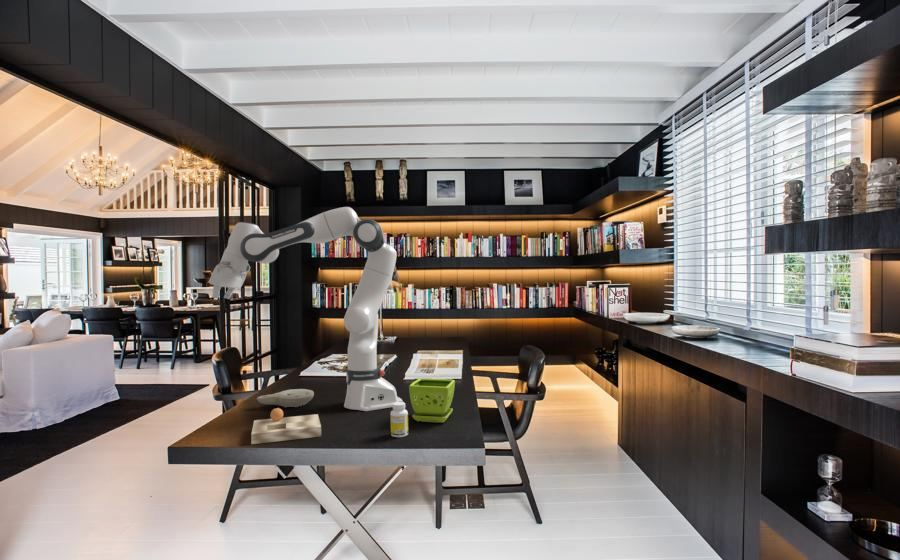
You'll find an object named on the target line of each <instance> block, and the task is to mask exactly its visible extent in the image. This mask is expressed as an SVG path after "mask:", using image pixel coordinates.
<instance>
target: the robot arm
mask: <svg viewBox="0 0 900 560" xmlns="http://www.w3.org/2000/svg"><path fill="white" fill-rule="evenodd" d="M346 236H349V237H352V238H353V239H354V241H355V243H356V244H357V245H358V247H360V248H363V249H364V250H365V251H367V260H366V262H365V265H364V268H363V270H362V273H361V277H360V278H359V282H358V285H357V288H356V290H355V291H354V294H353V295H352V297H351V299H350V303H349V305H348V307H347V309H346V312H345V315H344V317H343V325H344V327H345V329H346V330H347V331H348V332H349V339H348V345H347V369H346V372H345V373H346V375H345V377H346V378H345V379H346V384H347V386H346V387H347V388H346V395H345V400H344V404H343V407H344V408H346V409H349V410H354V411H355V410H356V411H357V410H358V411H364V412H369V411H375V410H382V409H387V408H389V409H390V408H393V407H392V406H393V403H395V402H404V401H403V399H402V397H401V398H400V397H399V396H398V395H397V389H396V387H395V386H394V385H393V384H392V383H390V382H389V381H388V380H386V379H385V378H383V377H384V376H385V375H386V373H385V371H384V369H380V368H379V367H378V363H377V359H378V358H377V353H378V351H377V350H378V349H377V346H378V336H379V335H378V334H379V311H380V308H381V305H382V303H383V301H384V299H385V297H386V294H387V291H388V289H389V286H390V283H391V281H392V277H393V275H394V271H395V267H396V263H397V255H398V253H397V251H396V249H395V248H394V246H392V245H390V244H387V243H386V242H385V239H384V231H383V228H382V226H381V225H380V223H379V222H377V221H376V220H374V219H373V218H365V219H360V217H359V216H358V214H357V212H356V211H355V210H354V209H353V208H352V207H350V206H343V207H338V208H334V209H330V210H327V211H323V212H321V213H318V214H316V215H314V216H312V217H309V218H307V219H305V220H302V221H300V222H299V223H296V224H293V225H290V226H288V227H284V228H281V229H278V230H275V231H272V232H267V233H264V232H263V231H262V230H261V229H260V227H259V225H257V224H255V223H252V222H247V221H238V222H236V224H235V225H234V227H233V229H232V231H231V233H230V236H229V237H228V241H227V247H226V248H225V249H224V251H223V254H222V257H221V259H220V262H219V263H218V264H216V266H215V267H214V269H213V271H212V272H211V276H210V278H209V284H210V285H213V287H212V289H213V290H212V291H213V292H212V295H211V297H212V298H214V299H219V298H220V291H221V289H222V288H227V291H226V292H225V293H224V294H223V295H224V296H223V298H224V299H227V300H229V299H231V297H232V294H233V293H234V292H235V289H241V288H242V286H243V284H244V282H245V280H246V277H247V274H248V272H250V270H251V266H250V264H249V262H251V263H259V264H260V263H261V264H271V263H273V262H275V261H276V260H277V259H278V257H279V255H280V249H283V248H286V247H288V246H291V245H295V244H298V243H309V244H315V245H318V244H324V243H325V244H326V243H328V242H332V241H336V240H337V239H340V238H342V237H346ZM382 376H383V377H382Z"/></svg>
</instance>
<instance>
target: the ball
mask: <svg viewBox="0 0 900 560" xmlns="http://www.w3.org/2000/svg"><path fill="white" fill-rule="evenodd" d="M269 415H270V419H272V420H274V421H279V420H280V419H282V418H284V411H283V409H281V408H280V407H277V408H273V409H272V410H271V412H270V414H269Z"/></svg>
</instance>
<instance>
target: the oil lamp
mask: <svg viewBox="0 0 900 560" xmlns="http://www.w3.org/2000/svg"><path fill="white" fill-rule="evenodd" d="M314 395H315V392H314V391H313V390H312V389H307V388H306V389H305V388H295V389H293V388H292V389H286V390H282V391H279V392H275V393H273V394H265V395H260V396H257V398H256V400H257V401H258V403H261V404H264V405H274V406H281V407H283V408H287V407H295V408H299V406H300V407H303V406H305V405H307V404H308V403H309V402H310V401H312V399H313V398H314ZM302 405H303V406H302Z"/></svg>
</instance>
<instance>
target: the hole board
mask: <svg viewBox="0 0 900 560" xmlns="http://www.w3.org/2000/svg"><path fill="white" fill-rule="evenodd" d="M250 435H251V439H250V440H251V441H250V444H251V445H258V444H267V443H276V442H284V441H292V440H302V439H308V438H309V439H311V438H317V437H318V438H320V437H322V424H321V421H320V417H319V414H318V413H317V414H315V413H314V414H305V415H296V416H295V415H294V416H287V417H286V416H285V417H284V416H283V417H282V419H280V420H279V421H274V420H272V419H271V418H267V419H265V418H264V419H256V420H255V419H254V420H253V424H252V430H251V434H250Z"/></svg>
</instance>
